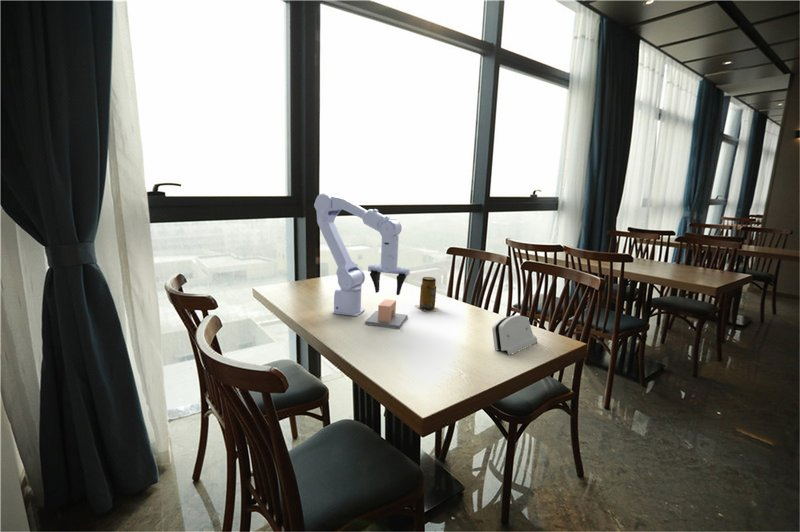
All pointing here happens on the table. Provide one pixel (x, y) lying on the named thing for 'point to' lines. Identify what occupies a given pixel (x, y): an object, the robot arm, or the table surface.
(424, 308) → the condiment
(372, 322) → the plate
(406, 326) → the table surface
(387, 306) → the block
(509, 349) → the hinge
